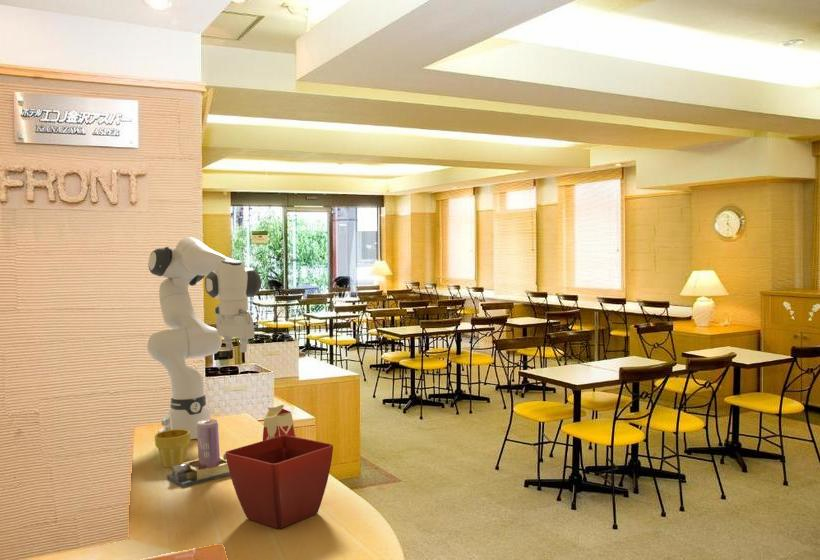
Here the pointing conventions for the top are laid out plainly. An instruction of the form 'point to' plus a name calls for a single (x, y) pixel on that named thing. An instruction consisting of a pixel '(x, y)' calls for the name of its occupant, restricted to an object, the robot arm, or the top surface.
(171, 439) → the plant pot
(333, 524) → the top surface
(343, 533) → the top surface
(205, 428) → the beverage can
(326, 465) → the plant pot
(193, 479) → the grey and tan tray
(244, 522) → the top surface
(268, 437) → the milk carton
